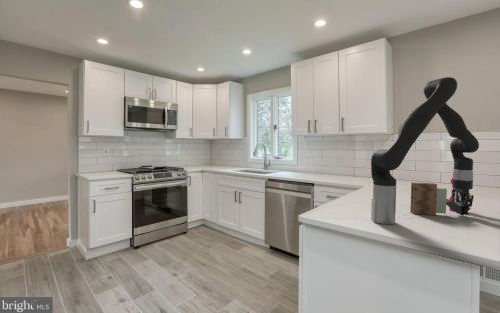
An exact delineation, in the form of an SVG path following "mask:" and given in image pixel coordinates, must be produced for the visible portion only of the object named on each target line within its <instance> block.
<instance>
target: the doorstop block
mask: <svg viewBox="0 0 500 313" xmlns="http://www.w3.org/2000/svg"><path fill="white" fill-rule="evenodd" d="M446 207H448V208H449V207H450V208H451V209H452V210H454V211H455V213H456V214H458V215H460V216H462V217H463V216H464V215H463V214H462V204H461V202H460V201H457V202H456V203H455V202H453V201H452V200H449V198H446ZM470 210H472V207H468V212H469V211H470ZM454 211H453V212H454Z"/></svg>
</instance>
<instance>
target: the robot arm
mask: <svg viewBox="0 0 500 313" xmlns="http://www.w3.org/2000/svg"><path fill="white" fill-rule="evenodd" d="M457 88H458V81H457V80H456V79H455V78H454V77H451V76H447V77H446V76H445V77H441V78H437V79H434V80H430V81H427V82H426V83H425V84H424V86H423V95H424V97H425V98H426V100H425V101H424V102H423V103H421V104H420V105H418V106H416V107H415V108H414V109H413V110H411V111H410V112H409V113H408V114H407V115H406V116H405V118H404V119H403V120H402V121H401V123H400V125H399V128H398V133H397V134H398V135H397V137H396V138H397V139H396V140H395V141H394V143H393V144H392V145H391V147H389V148H388V149H377V150H375V151H374V152H373V153H372V155H371V159H370V161H371V162H370V170H371V172H370V174H371V178H372V183H373V184H372V185H373V186H372V199H371V205H370V206H371V208H370V209H371V210H370V211H371V213H370V215H371V217H370V219H371V220H372V222H373V223H376V224H382V225H395V224H396V207H397V205H396V204H397V179H396V178H395V177H394V176H393V175H392V174H391V171H394V170H396V169H398V168H399V167H400V165H401V164H402V163H403V161H404V160H405V157H406V156H407V155H408V153H409V151H410V150H411V148H412V147H413V146H414V144H415V143H416V141H417V139H418V138H419V136H420V135H422V133H423V132H424V131H425V130H426V128H427V126H428V125H429V124H430V123H431V121H432V120H433V119H434V118H435V116H436V115H437V114H438V116H439V117H440V119H441V121H442V122H443V124H444V126H445V129H446V131H447V133H448V136H450V137H451V138H454V139H453V140H451V142H450V145H449V148H450V152H451V155H452V159H453V172H452V178H453V182H452V184H451V188H452V187H453V188H456V189H455V190H453V188H452V190H451V195H452V201H453V202H455V203H456V202H457V201H460V202H461V204H462V214H463V216H464V215H465V216H467V215H468V213H469V211H468V207H470V208H472V206H473V202H474V197H475V196H474V194H470V190H472V189H474V160H473V159H472V158H471V157H468V156H465V155H464V154H466V153H467V154H472V153H475V152H477V151H478V150H479V148H480V143H479V140H478V139H477V137H476V136H475V135H474V134H473V133H472V132H471V131H470V130H469V129H468V128H467V125H466V123H465V121H464V119H463V117H462V116H461V114H459V113H458V112H457V111H456V110H454V109H453V108H452V107H451V106H449V104H448V101H449V100H450V99H451V98H452V97H453V96H454V95H455V93H456V91H457ZM464 202H465V203H464Z"/></svg>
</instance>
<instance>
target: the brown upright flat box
mask: <svg viewBox="0 0 500 313" xmlns="http://www.w3.org/2000/svg"><path fill="white" fill-rule="evenodd" d="M437 188H438V183H434V182H415V181H414V182H411V185H410V190H411V191H410V207H409V208H410V214H412V215H419V216H420V215H421V216H437V215H436V214H437V213H436V199H437Z"/></svg>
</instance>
